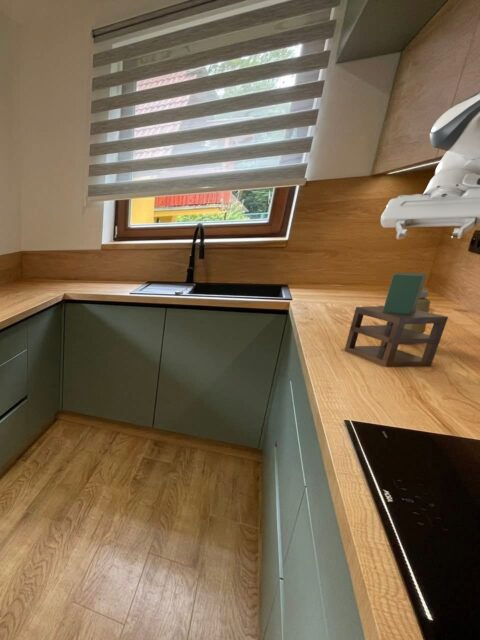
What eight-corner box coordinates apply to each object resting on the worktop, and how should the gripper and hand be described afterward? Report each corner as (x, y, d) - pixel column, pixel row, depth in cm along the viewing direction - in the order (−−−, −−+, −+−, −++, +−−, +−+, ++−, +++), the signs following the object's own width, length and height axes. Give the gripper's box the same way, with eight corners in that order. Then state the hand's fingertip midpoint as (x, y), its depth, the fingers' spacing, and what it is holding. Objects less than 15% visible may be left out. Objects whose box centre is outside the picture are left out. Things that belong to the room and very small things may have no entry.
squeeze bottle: (393, 336, 126) (412, 274, 120) (427, 342, 119) (450, 277, 113) (374, 339, 124) (392, 276, 118) (408, 346, 117) (430, 279, 111)
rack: (384, 349, 115) (397, 305, 111) (431, 366, 102) (448, 316, 98) (344, 350, 117) (355, 306, 112) (385, 366, 104) (400, 318, 99)
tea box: (388, 308, 109) (398, 272, 105) (415, 311, 105) (427, 273, 102) (382, 311, 106) (393, 274, 103) (410, 314, 102) (422, 276, 99)
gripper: (391, 187, 110) (370, 229, 108) (516, 177, 94) (493, 226, 92) (391, 205, 114) (370, 246, 112) (511, 199, 98) (489, 246, 96)
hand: (427, 237), depth 102 cm, fingers open, 8 cm apart
